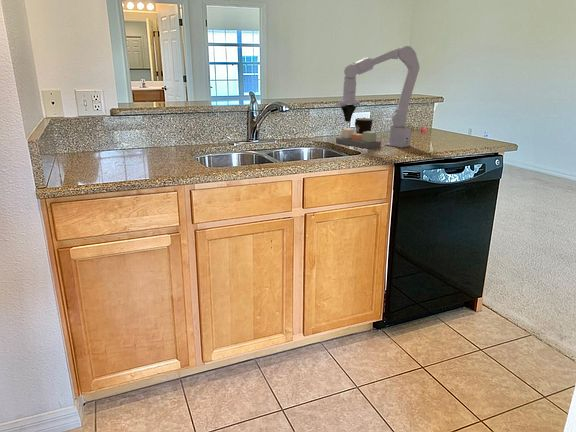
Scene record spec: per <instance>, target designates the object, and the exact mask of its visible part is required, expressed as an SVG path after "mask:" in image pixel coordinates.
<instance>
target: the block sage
mask: <svg viewBox="0 0 576 432" xmlns="http://www.w3.org/2000/svg"><path fill="white" fill-rule="evenodd" d="M362 141H364V142H375V141H377V131H367V132H363V137H362Z"/></svg>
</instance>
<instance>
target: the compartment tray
mask: <svg viewBox="0 0 576 432" xmlns="http://www.w3.org/2000/svg"><path fill="white" fill-rule="evenodd" d="M351 139H352V138H350V139H347V138H341V137H339V136H338V137H335V143H336V144H339V145H347V146H352V147H357V148H362V149H368V150H370V149H373V148H374V149H375V148H380V147H381V143H382V141H379V140H376V141H375V142H364V141H356V140H351Z"/></svg>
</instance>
